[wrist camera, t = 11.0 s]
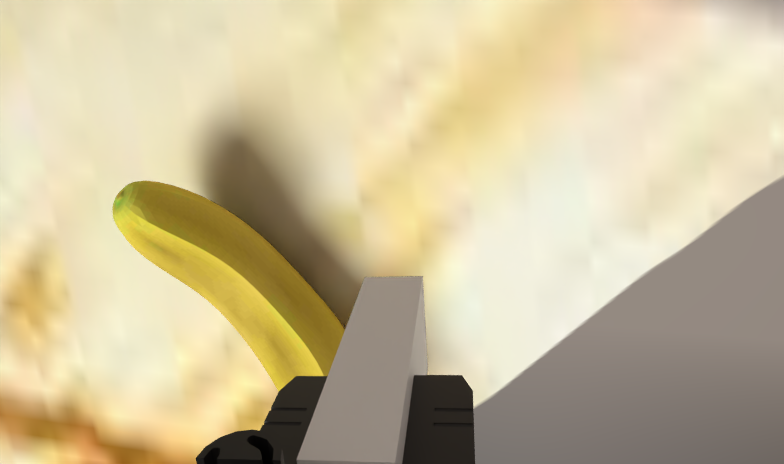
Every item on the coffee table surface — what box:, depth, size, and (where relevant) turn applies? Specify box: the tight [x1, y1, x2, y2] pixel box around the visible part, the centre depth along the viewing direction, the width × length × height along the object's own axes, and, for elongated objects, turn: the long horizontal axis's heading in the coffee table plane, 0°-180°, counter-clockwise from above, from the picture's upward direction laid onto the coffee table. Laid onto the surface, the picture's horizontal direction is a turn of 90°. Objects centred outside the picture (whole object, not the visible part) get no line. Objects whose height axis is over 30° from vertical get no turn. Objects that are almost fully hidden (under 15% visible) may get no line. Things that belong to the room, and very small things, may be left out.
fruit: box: [113, 181, 345, 391], centre depth 48 cm, size 7×30×9 cm, turn 40°
